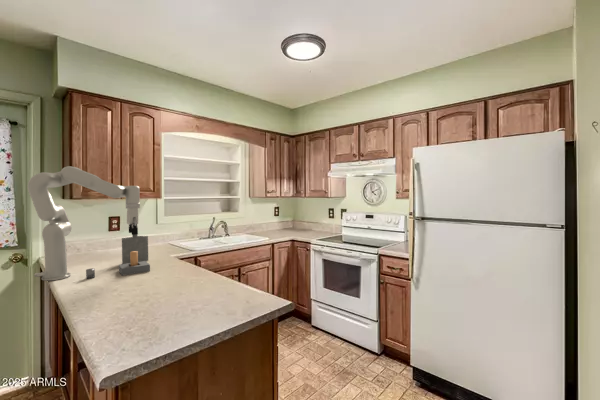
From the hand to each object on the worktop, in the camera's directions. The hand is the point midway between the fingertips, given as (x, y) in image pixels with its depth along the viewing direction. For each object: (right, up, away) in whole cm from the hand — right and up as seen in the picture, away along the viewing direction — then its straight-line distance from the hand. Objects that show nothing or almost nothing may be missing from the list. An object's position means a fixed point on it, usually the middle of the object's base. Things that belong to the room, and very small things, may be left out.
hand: (133, 233), depth 178 cm
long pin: (0, -23, +1) cm, 23 cm away
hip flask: (-12, -23, +23) cm, 35 cm away
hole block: (0, -23, +1) cm, 23 cm away
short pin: (-17, -24, -13) cm, 32 cm away
